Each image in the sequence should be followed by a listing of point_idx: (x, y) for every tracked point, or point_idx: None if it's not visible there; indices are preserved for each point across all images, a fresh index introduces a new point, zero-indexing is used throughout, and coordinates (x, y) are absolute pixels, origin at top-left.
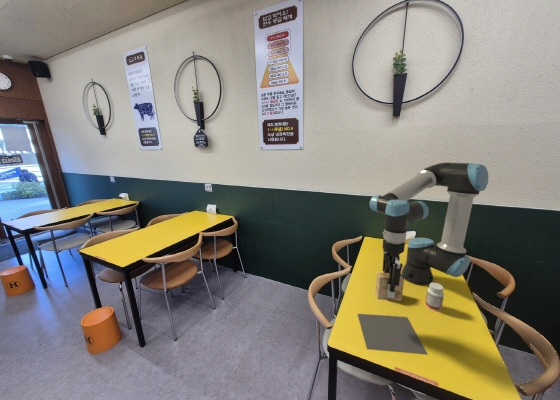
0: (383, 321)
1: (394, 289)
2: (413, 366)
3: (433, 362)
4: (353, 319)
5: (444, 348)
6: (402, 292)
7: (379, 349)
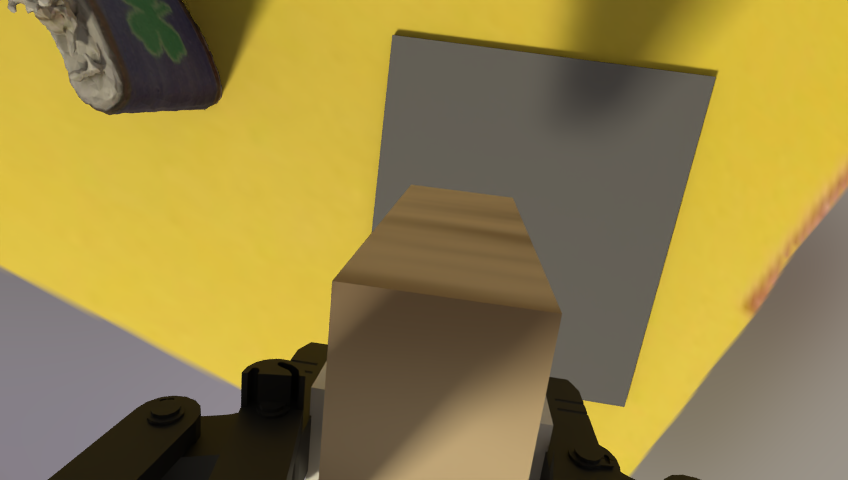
0: None
1: (583, 413)
2: (762, 208)
3: (763, 71)
4: None
5: None
6: (522, 223)
7: (636, 345)
